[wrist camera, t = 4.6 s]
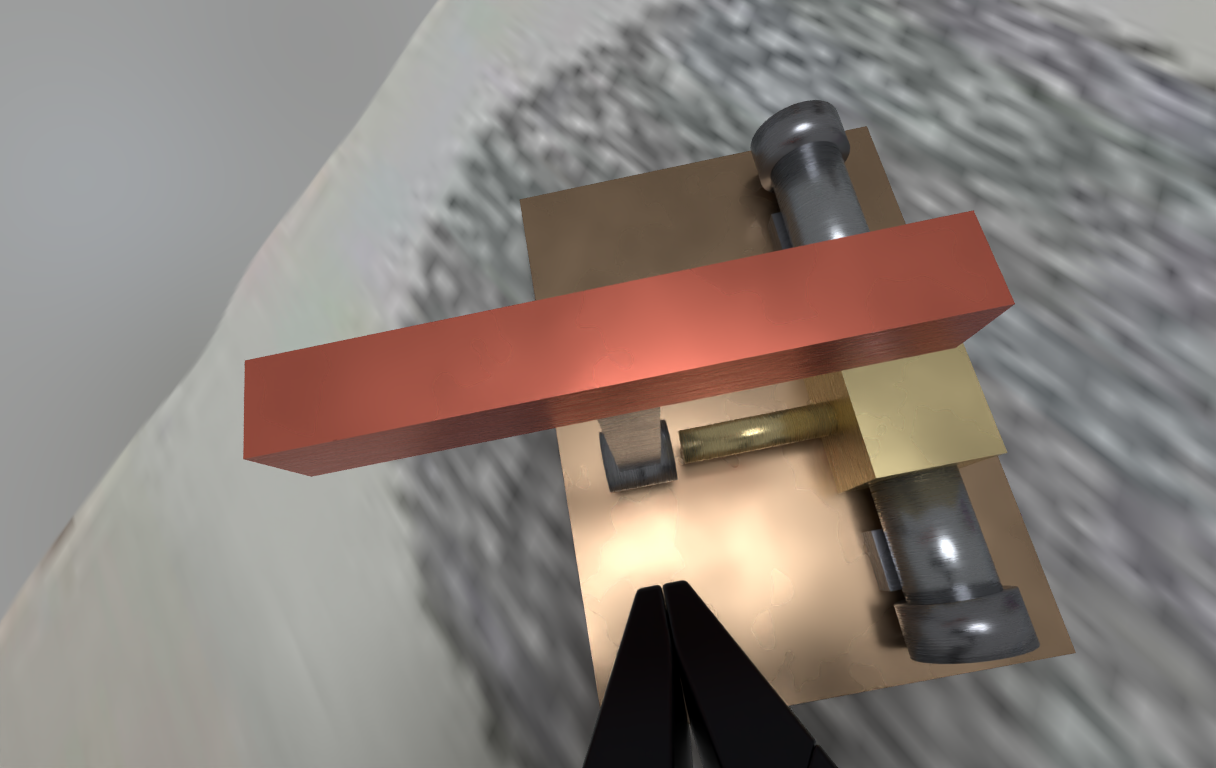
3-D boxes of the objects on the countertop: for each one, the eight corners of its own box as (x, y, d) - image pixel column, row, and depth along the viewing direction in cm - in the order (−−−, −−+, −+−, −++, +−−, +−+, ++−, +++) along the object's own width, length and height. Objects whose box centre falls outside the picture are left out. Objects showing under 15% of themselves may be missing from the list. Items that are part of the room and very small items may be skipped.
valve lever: (819, 456, 21) (1019, 315, 9) (473, 523, 22) (243, 470, 10) (802, 399, 22) (968, 200, 10) (467, 465, 22) (244, 349, 10)
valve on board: (1052, 648, 21) (1177, 673, 16) (608, 729, 21) (591, 780, 16) (858, 144, 27) (901, 51, 22) (525, 214, 28) (496, 138, 23)
